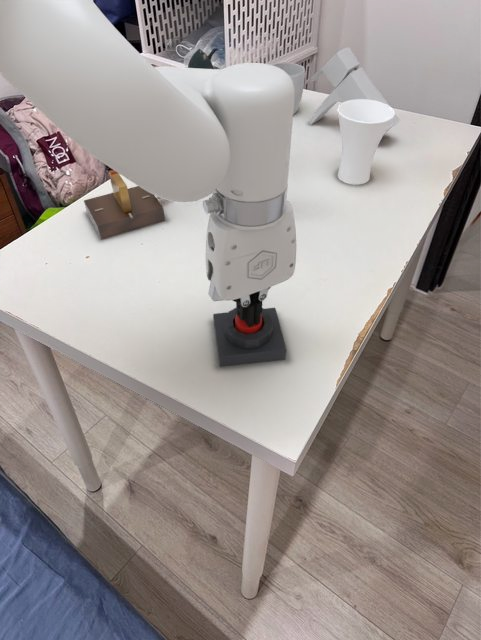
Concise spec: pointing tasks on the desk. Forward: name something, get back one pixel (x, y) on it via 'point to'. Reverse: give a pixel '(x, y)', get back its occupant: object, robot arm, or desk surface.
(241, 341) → the dark grey squat piece
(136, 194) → the tap block
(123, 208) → the tap handle
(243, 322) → the red short cylinder
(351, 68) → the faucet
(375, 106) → the cup
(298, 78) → the mug
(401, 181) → the desk surface
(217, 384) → the desk surface
